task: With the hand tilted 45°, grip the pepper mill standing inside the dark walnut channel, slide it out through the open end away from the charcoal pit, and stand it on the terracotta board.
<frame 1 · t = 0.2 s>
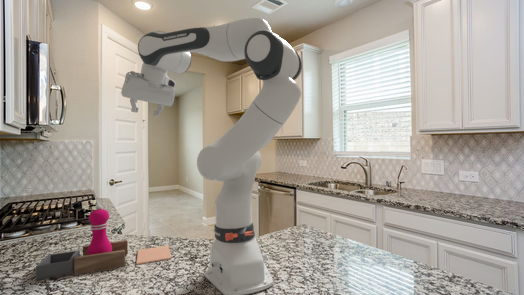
hand: (145, 114, 103), 52 cm above the worktop, tool tilted 20°, fingers open, 8 cm apart
charcoal pit: (59, 270, 90), on the worktop
terracotta board: (153, 254, 101), on the worktop
pepper mill: (100, 264, 94), on the worktop
walnut channel: (103, 263, 95), on the worktop
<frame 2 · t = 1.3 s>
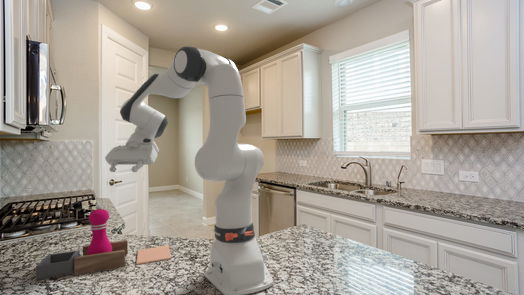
hand: (122, 171, 107), 30 cm above the worktop, tool tilted 45°, fingers open, 8 cm apart
nothing on the worktop moved.
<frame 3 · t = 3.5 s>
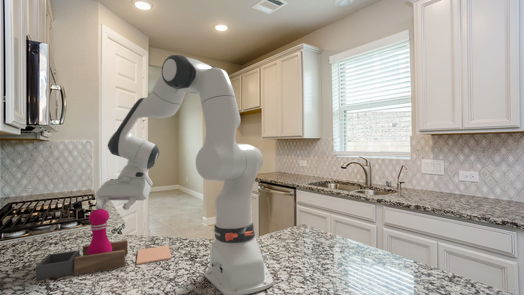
hand: (113, 208, 101), 17 cm above the worktop, tool tilted 45°, fingers open, 8 cm apart
nothing on the worktop moved.
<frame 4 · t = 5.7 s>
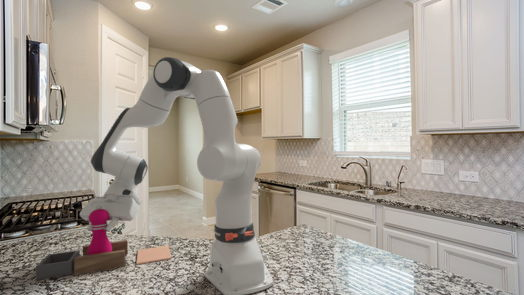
hand: (98, 230, 94), 11 cm above the worktop, tool tilted 45°, fingers closed on pepper mill, 5 cm apart
pepper mill: (100, 264, 94), on the worktop, touching gripper
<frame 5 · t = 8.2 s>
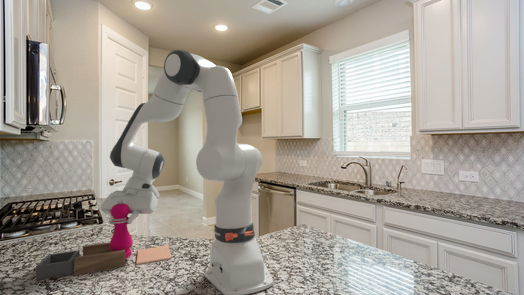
hand: (119, 223, 96), 13 cm above the worktop, tool tilted 45°, fingers closed on pepper mill, 5 cm apart
pepper mill: (121, 257, 96), point 1 cm above the worktop, touching gripper
when the fingers open (13 cm above the worktop, at t = 10.7 s): pepper mill stays where it is, resting on terracotta board.
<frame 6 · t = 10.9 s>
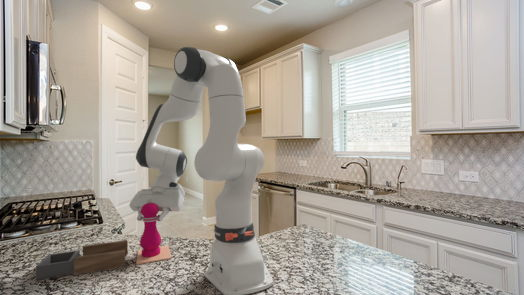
hand: (149, 220, 100), 13 cm above the worktop, tool tilted 45°, fingers open, 6 cm apart
pepper mill: (151, 254, 100), resting on terracotta board
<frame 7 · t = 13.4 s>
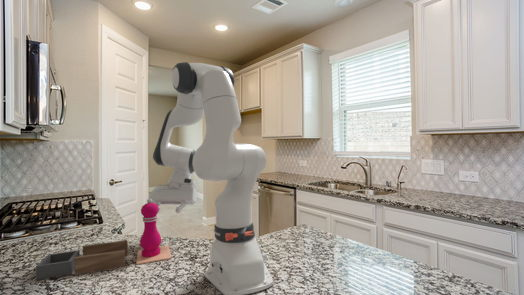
hand: (166, 212, 112), 13 cm above the worktop, tool tilted 45°, fingers open, 8 cm apart
nothing on the worktop moved.
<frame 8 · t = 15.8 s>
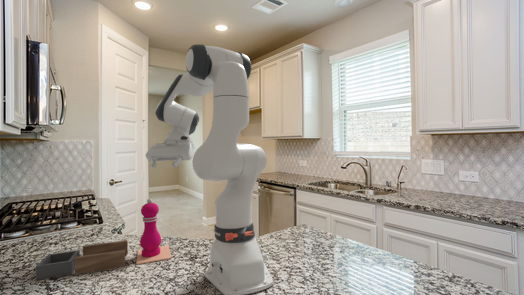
hand: (163, 166, 113), 31 cm above the worktop, tool tilted 45°, fingers open, 8 cm apart
nothing on the worktop moved.
at the end: pepper mill inside the target area (0.4 cm from its centre), resting on terracotta board; pepper mill tilted 0°; the gripper is holding nothing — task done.
